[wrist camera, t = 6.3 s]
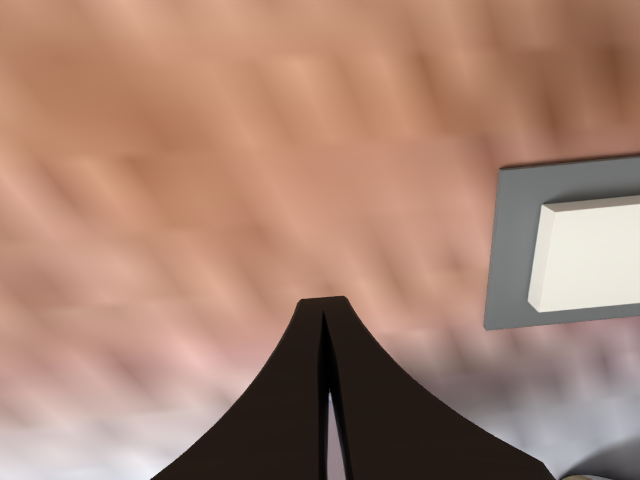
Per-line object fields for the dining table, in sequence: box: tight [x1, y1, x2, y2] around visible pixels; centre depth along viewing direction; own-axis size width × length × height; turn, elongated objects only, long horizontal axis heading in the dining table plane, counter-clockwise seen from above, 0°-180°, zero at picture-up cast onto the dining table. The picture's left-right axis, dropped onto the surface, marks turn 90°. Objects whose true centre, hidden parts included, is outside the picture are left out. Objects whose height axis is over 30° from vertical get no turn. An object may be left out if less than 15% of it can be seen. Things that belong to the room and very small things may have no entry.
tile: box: [528, 195, 640, 312], centre depth 21 cm, size 6×1×6 cm
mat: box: [484, 155, 640, 331], centre depth 22 cm, size 10×13×1 cm
